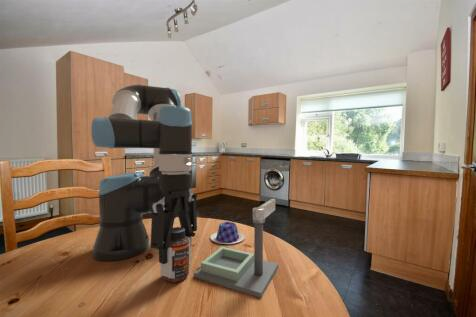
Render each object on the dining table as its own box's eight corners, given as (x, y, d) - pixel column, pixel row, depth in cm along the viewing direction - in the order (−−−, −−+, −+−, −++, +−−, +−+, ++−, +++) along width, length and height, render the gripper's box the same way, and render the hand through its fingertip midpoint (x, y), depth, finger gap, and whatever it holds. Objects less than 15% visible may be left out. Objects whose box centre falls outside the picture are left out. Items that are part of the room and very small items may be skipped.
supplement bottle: (175, 286, 48) (175, 236, 48) (158, 278, 51) (157, 231, 51) (194, 274, 53) (194, 228, 53) (177, 267, 56) (177, 223, 56)
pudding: (218, 231, 83) (218, 217, 83) (248, 234, 79) (248, 220, 79) (204, 243, 71) (204, 227, 71) (239, 248, 68) (239, 231, 68)
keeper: (262, 224, 49) (262, 210, 49) (250, 222, 50) (250, 209, 50) (278, 210, 61) (278, 199, 61) (268, 208, 62) (268, 198, 62)
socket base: (193, 277, 52) (193, 222, 51) (221, 254, 63) (221, 209, 63) (261, 297, 44) (261, 234, 44) (278, 267, 56) (278, 217, 56)
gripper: (156, 177, 41) (157, 296, 42) (211, 170, 58) (211, 255, 59) (129, 175, 44) (131, 286, 45) (188, 169, 61) (189, 249, 62)
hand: (176, 268), depth 52 cm, fingers closed on supplement bottle, 6 cm apart
